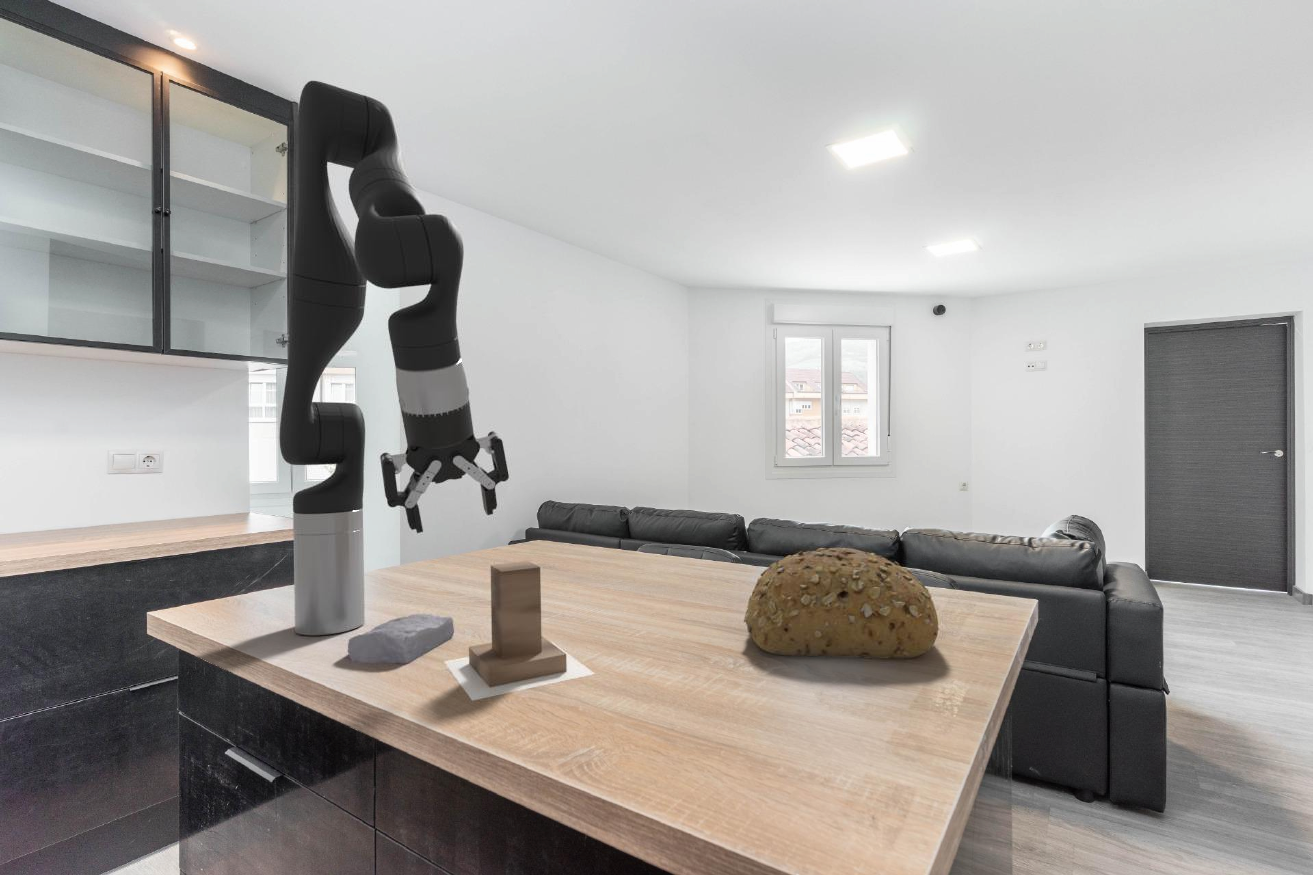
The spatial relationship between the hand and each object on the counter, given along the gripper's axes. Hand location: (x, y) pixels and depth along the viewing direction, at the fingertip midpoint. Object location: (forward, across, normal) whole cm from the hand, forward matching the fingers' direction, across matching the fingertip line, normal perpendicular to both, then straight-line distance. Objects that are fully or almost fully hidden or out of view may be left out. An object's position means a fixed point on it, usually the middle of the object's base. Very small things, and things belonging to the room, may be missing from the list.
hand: (454, 520), depth 80 cm
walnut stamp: (+14, -3, +13) cm, 19 cm away
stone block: (+18, +9, -1) cm, 20 cm away
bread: (+18, -43, +24) cm, 52 cm away
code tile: (+14, -3, +13) cm, 19 cm away
